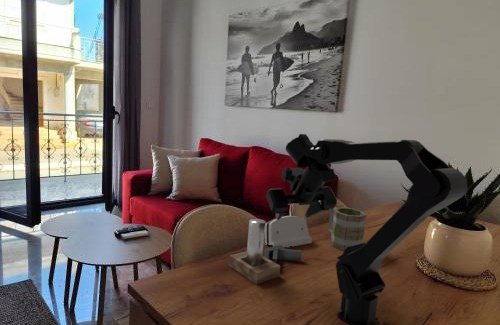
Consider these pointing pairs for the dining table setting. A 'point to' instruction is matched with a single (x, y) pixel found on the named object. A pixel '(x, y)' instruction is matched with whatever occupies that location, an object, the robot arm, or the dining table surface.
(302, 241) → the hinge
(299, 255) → the v block
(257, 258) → the axle
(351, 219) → the mug
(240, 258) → the rectangular block with hole
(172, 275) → the dining table surface
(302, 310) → the dining table surface
